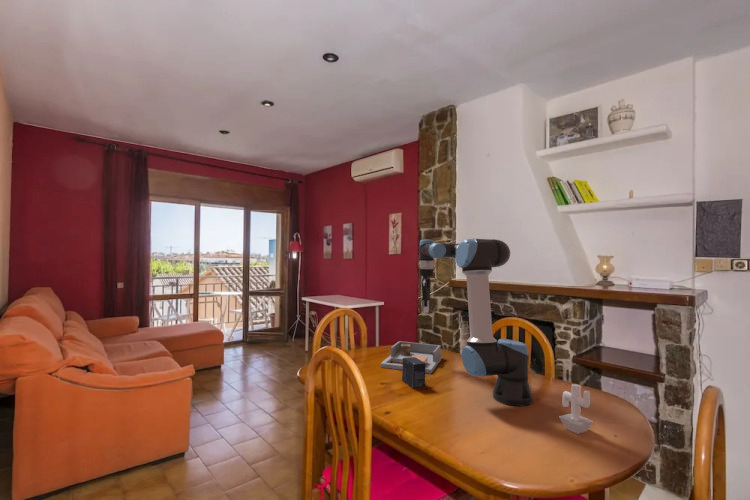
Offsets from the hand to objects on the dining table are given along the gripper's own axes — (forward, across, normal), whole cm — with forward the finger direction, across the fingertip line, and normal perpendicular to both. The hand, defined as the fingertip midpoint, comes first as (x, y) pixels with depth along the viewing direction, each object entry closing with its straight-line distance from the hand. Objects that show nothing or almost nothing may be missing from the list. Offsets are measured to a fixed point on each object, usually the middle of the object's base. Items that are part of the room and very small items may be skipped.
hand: (426, 312), depth 198 cm
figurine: (+27, +57, +63) cm, 89 cm away
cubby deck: (+26, +4, -6) cm, 27 cm away
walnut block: (+24, -3, -12) cm, 27 cm away
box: (+27, +34, +2) cm, 44 cm away
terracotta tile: (+24, +13, -1) cm, 27 cm away
